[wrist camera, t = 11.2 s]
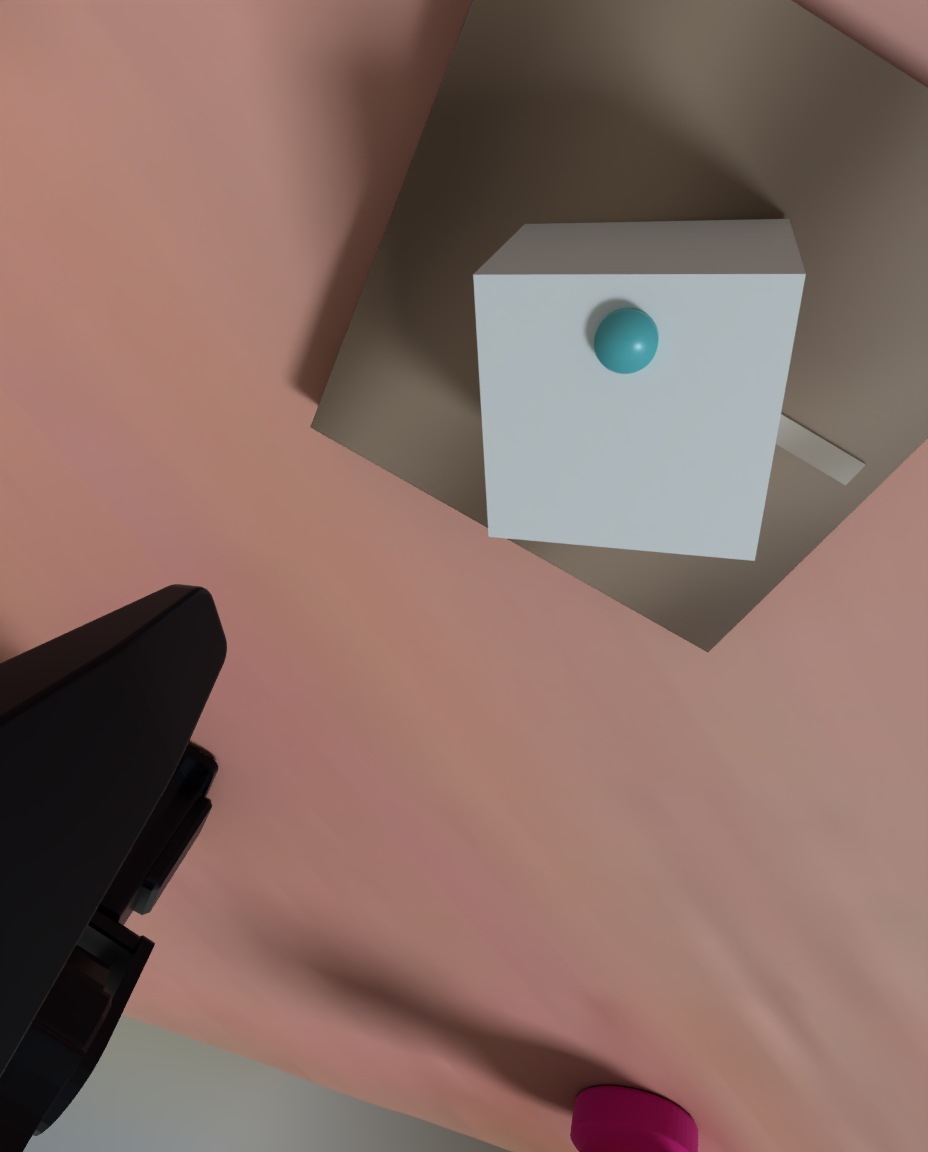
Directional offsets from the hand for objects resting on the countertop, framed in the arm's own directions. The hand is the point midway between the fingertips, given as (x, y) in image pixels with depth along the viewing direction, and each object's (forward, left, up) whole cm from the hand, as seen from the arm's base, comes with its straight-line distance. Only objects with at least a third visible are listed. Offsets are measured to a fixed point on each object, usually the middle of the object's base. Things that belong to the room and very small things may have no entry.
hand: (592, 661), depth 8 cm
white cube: (0, 0, -10) cm, 10 cm away
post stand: (0, 0, -11) cm, 11 cm away
